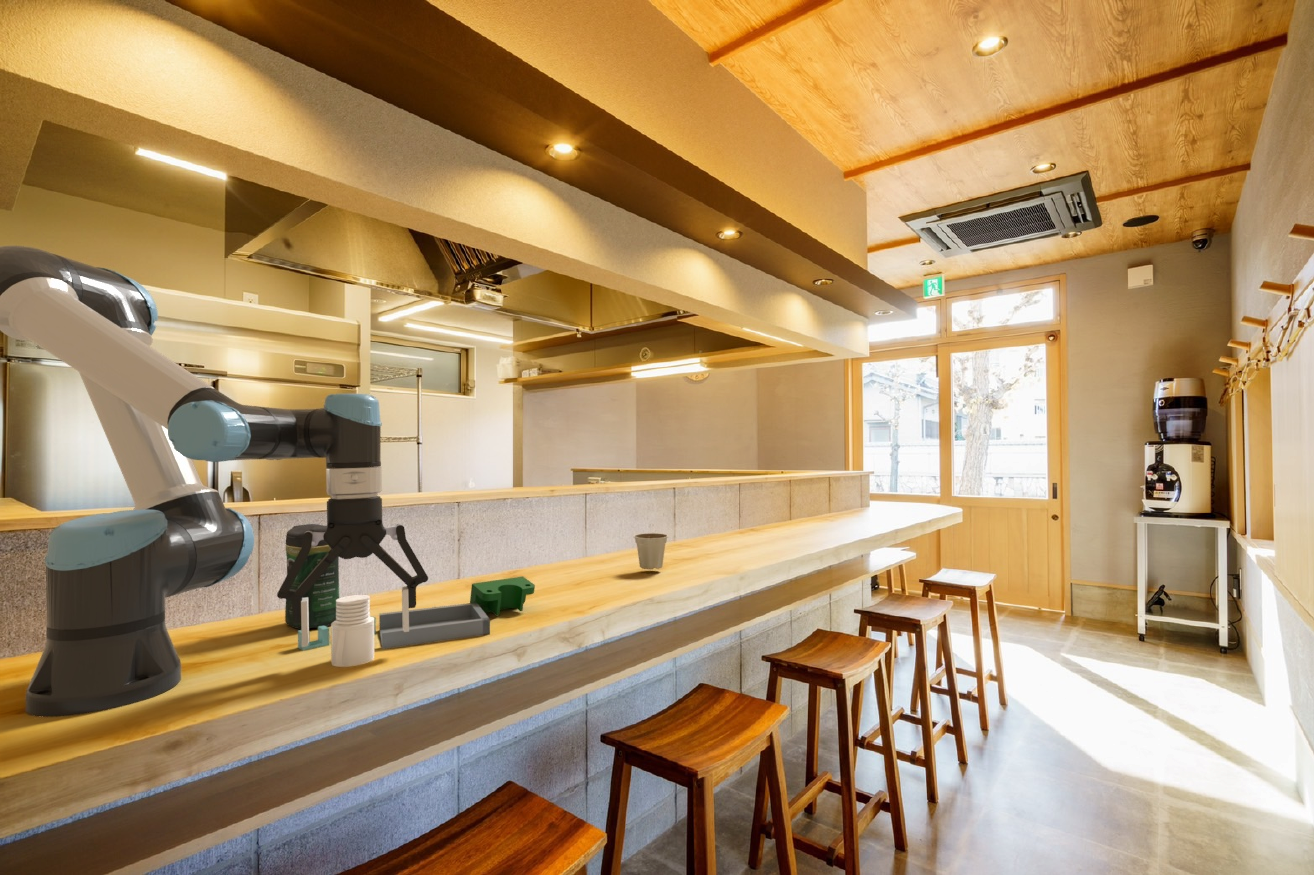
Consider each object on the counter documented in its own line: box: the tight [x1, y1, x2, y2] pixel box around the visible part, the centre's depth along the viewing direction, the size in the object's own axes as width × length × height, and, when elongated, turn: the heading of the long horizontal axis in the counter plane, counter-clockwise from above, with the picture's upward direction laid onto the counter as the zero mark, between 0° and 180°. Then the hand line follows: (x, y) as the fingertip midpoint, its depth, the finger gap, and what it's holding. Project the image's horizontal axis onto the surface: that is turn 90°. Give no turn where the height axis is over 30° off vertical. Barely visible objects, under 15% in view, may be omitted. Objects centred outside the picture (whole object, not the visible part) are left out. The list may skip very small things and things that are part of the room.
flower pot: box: [633, 532, 669, 570], centre depth 165 cm, size 9×9×9 cm
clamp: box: [469, 576, 536, 616], centre depth 121 cm, size 12×6×9 cm, turn 127°
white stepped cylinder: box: [330, 594, 375, 668], centre depth 92 cm, size 8×7×10 cm
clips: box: [297, 615, 377, 651], centre depth 103 cm, size 12×3×3 cm, turn 141°
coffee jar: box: [284, 523, 340, 630], centre depth 114 cm, size 10×8×19 cm
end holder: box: [378, 602, 491, 650], centre depth 108 cm, size 17×13×3 cm
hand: (357, 637), depth 92 cm, fingers open, 13 cm apart
